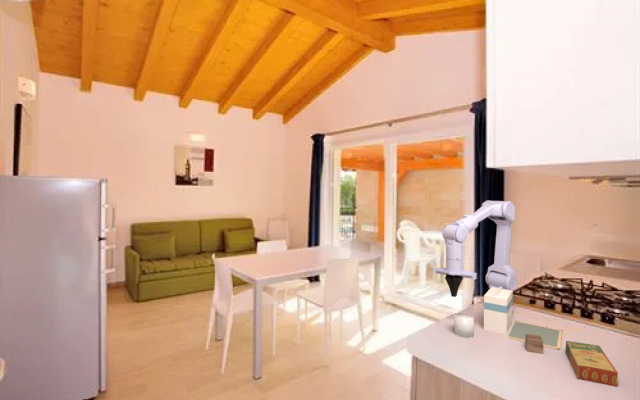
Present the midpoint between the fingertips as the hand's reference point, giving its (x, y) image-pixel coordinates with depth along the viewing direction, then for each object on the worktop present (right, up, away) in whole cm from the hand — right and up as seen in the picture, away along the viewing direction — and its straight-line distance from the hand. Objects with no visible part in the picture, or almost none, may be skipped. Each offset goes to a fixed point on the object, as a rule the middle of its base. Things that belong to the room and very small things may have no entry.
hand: (454, 296), depth 122 cm
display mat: (+24, -11, -8) cm, 28 cm away
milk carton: (+15, -10, -1) cm, 19 cm away
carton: (+25, -12, -29) cm, 40 cm away
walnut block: (+17, -11, -19) cm, 28 cm away
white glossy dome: (0, -11, -7) cm, 13 cm away
